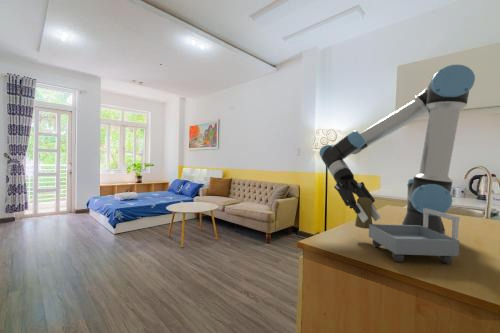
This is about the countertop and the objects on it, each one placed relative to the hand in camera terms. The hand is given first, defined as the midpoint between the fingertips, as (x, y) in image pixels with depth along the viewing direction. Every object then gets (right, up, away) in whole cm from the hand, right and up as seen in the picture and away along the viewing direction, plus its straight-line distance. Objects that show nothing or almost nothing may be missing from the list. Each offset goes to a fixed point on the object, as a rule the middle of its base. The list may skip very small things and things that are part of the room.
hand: (371, 219), depth 85 cm
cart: (+7, -9, -10) cm, 15 cm away
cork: (-1, -3, +3) cm, 5 cm away
